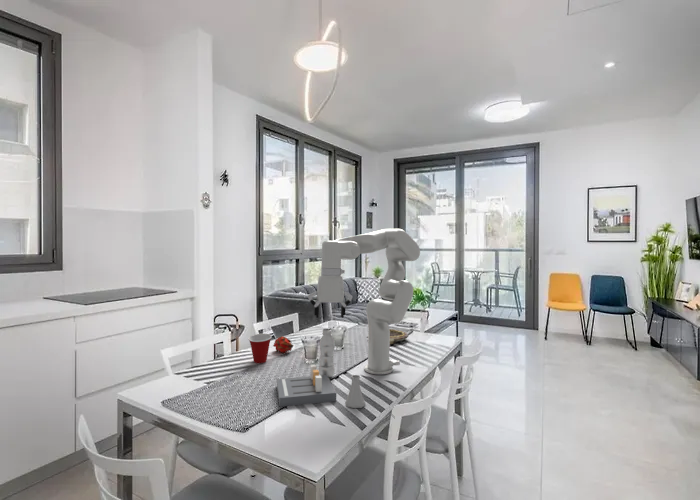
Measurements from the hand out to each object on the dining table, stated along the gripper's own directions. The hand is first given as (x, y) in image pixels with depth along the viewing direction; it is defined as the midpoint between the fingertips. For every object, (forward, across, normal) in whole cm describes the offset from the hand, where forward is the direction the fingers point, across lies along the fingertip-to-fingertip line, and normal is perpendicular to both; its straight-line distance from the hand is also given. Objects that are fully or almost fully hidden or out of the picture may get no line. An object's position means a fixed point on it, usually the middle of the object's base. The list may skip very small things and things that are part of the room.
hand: (329, 317), depth 143 cm
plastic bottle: (+28, -1, -14) cm, 31 cm away
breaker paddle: (+25, +5, +2) cm, 25 cm away
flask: (+28, -9, +14) cm, 33 cm away
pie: (+27, -42, -68) cm, 84 cm away
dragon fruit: (+28, +19, -51) cm, 61 cm away
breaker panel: (+28, +9, +3) cm, 30 cm away
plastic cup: (+28, +29, -36) cm, 54 cm away
